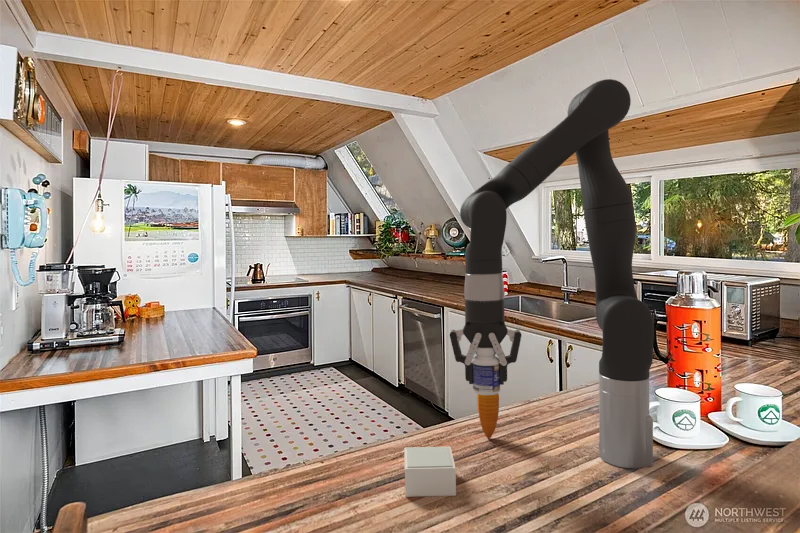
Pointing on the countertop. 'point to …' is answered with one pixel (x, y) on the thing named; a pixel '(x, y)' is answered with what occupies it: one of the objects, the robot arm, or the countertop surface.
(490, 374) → the pill bottle
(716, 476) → the countertop surface
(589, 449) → the countertop surface
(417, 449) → the pedestal
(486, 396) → the carrot
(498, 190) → the robot arm
